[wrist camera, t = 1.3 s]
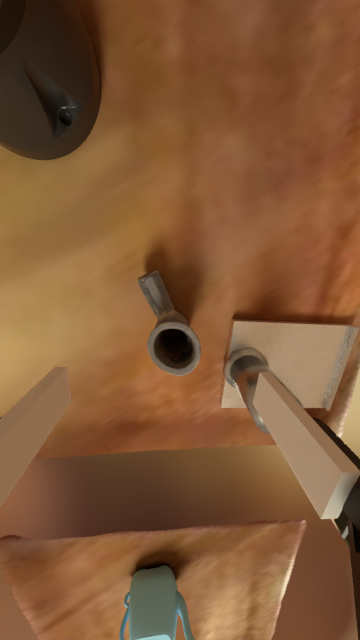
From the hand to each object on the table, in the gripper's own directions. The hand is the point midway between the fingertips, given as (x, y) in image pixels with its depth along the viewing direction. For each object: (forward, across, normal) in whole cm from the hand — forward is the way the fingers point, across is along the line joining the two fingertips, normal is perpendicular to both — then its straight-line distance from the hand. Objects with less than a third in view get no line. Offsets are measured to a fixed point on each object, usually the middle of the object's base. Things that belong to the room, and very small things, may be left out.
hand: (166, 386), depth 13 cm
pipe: (+17, 0, +1) cm, 17 cm away
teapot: (+16, +1, -71) cm, 73 cm away
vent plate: (+16, +20, -8) cm, 27 cm away
